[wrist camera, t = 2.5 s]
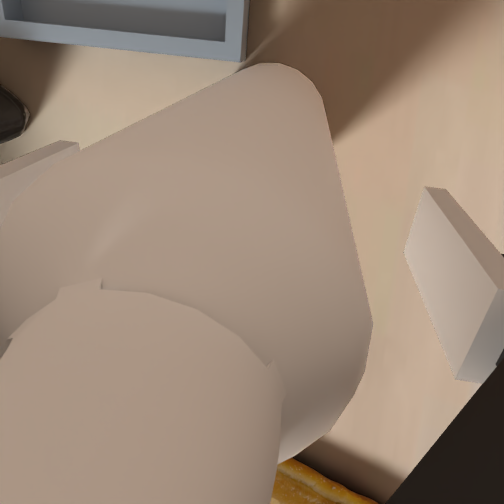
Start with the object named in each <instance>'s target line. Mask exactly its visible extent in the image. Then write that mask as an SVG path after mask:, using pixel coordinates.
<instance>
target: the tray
mask: <svg viewBox="0 0 504 504" xmlns="http://www.w3.org/2000/svg"><path fill="white" fill-rule="evenodd" d="M249 8H250V0H0V37H6V38H15V39H25V40H34V41H44V42H53V43H63V44H72V45H82V46H91V47H100V48H110V49H119V50H129V51H138V52H148V53H157V54H167V55H176V56H186V57H195V58H205V59H214V60H224V61H233V62H242V61H245V60H246V50H247V36H248V22H249Z"/></svg>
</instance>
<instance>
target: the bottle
mask: <svg viewBox="0 0 504 504" xmlns="http://www.w3.org/2000/svg"><path fill="white" fill-rule="evenodd" d="M372 328H373V321H372V316H371V312H370V307H369V303H368V298H367V294H366V289H365V285H364V281H363V276H362V272H361V267H360V263H359V258H358V254H357V250H356V245H355V241H354V236H353V232H352V227H351V223H350V219H349V214H348V210H347V205H346V201H345V196H344V192H343V187H342V183H341V179H340V174H339V170H338V165H337V161H336V156H335V152H334V148H333V143H332V139H331V134H330V130H329V125H328V121H327V117H326V112H325V108H324V104H323V99H322V97H321V95H320V94H319V92H318V90H317V89H316V87H315V85H314V84H313V82H312V81H311V80H310V79H308V78H307V77H306V76H305V75H303V74H302V73H301V72H300V71H299V70H297V69H295V68H292V67H289V66H286V65H284V64H281V63H259V64H256V65H253V66H250V67H248V68H245V69H242V70H240V71H239V72H236V73H234V74H232V75H230V76H228V77H226V78H224V79H222V80H220V81H218V82H216V83H214V84H212V85H210V86H208V87H206V88H204V89H202V90H200V91H198V92H196V93H194V94H192V95H190V96H188V97H186V98H184V99H182V100H180V101H178V102H176V103H174V104H172V105H170V106H168V107H166V108H164V109H162V110H160V111H158V112H156V113H154V114H152V115H150V116H148V117H146V118H144V119H142V120H140V121H138V122H136V123H134V124H132V125H130V126H128V127H126V128H124V129H122V130H120V131H118V132H116V133H114V134H112V135H110V136H108V137H106V138H104V139H102V140H100V141H98V142H96V143H94V144H92V145H90V146H88V147H86V148H84V149H82V150H80V151H78V152H76V153H74V154H72V155H70V156H68V157H66V158H64V159H62V160H60V161H58V162H56V163H54V164H53V165H52V166H51V167H50V168H49V169H48V170H47V171H45V172H44V173H43V174H42V175H41V176H40V177H39V178H38V179H37V180H35V181H34V182H33V183H32V184H31V185H30V186H29V187H28V188H27V189H25V190H24V191H23V192H22V193H21V194H20V195H19V196H18V197H17V198H16V199H14V200H13V201H12V204H11V206H10V208H9V211H8V213H7V215H6V218H5V220H4V222H3V225H2V227H1V229H0V504H270V502H271V497H272V491H273V486H274V481H275V476H276V471H277V464H279V463H281V462H283V461H285V460H287V459H289V458H291V457H293V456H295V455H297V454H298V453H299V452H301V451H302V450H304V449H305V448H306V447H308V446H309V445H311V444H312V443H313V442H315V441H316V440H318V439H319V438H321V437H322V436H323V435H325V434H326V433H328V432H329V431H330V430H331V428H332V427H333V425H334V424H335V422H336V421H337V419H338V418H339V416H340V415H341V413H342V412H343V410H344V409H345V407H346V406H347V404H348V403H349V401H350V400H351V398H352V397H353V395H354V394H355V391H356V389H357V387H358V385H359V383H360V381H361V378H362V376H363V374H364V372H365V367H366V361H367V356H368V350H369V344H370V339H371V333H372Z"/></svg>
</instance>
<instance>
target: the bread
mask: <svg viewBox="0 0 504 504" xmlns="http://www.w3.org/2000/svg"><path fill="white" fill-rule="evenodd" d="M270 504H379V503H377V502H375V501H374V500H372V499H370V498H368V497H365V496H362V495H360V494H357V493H354V492H353V491H350V490H348V489H347V488H345V487H344V486H343V485H341V484H339V483H337V482H334V481H331V480H329V479H328V478H326V477H324V476H323V475H321V474H320V473H318V472H317V471H315V470H314V469H312V468H310V467H308V466H306V465H304V464H302V463H301V462H299V461H297V460H295V459H293V458H292V457H291V458H289V459H287V460H285V461H283V462H281V463H279V464H277V471H276V476H275V481H274V486H273V491H272V497H271V502H270Z"/></svg>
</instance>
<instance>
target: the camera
mask: <svg viewBox="0 0 504 504" xmlns="http://www.w3.org/2000/svg"><path fill="white" fill-rule="evenodd" d="M29 115H30V114H29V112H28V110H27V108H26V106H25V105H24V104H23V103H22V102H21V101H20V100H19V99H18V98H17V97H16V96H15V95H14V94H13V93H11V92H10V91H8V90H7V89H5V88H4V87H3V86H2V85H0V144H1V143H4V142H7V141H10V140H12V139H14V138H16V137H19V136H20V135H21V134H22V133H23V132H24V130H25V125H26V123H27V121H28V118H29Z"/></svg>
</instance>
